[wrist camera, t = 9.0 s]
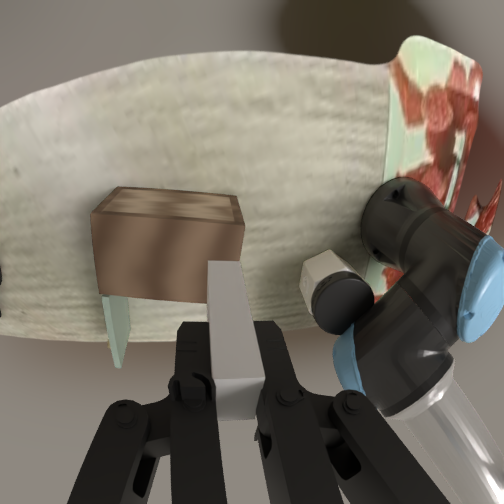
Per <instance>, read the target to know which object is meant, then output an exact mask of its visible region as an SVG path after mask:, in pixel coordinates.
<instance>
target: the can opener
mask: <svg viewBox="0 0 504 504" xmlns="http://www.w3.org/2000/svg"><path fill="white" fill-rule="evenodd" d="M1 282H2V274H1V268H0V285H1ZM0 317H1V311H0Z"/></svg>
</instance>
